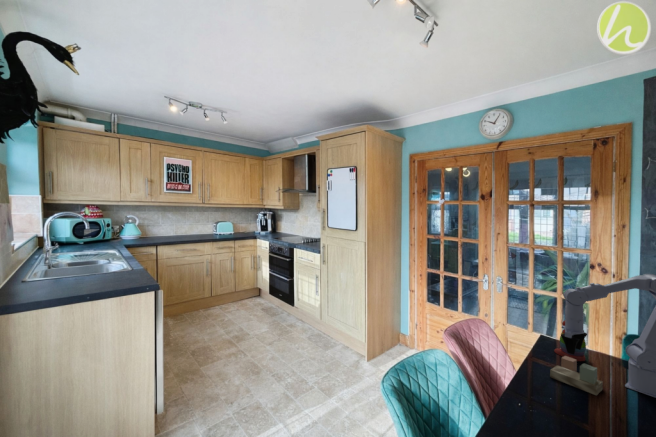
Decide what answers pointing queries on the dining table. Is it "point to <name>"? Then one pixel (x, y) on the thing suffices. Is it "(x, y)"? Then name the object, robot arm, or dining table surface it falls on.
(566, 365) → the terracotta block
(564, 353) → the stacking bear
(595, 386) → the birch board
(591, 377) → the sage block
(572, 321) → the robot arm
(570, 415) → the dining table surface
